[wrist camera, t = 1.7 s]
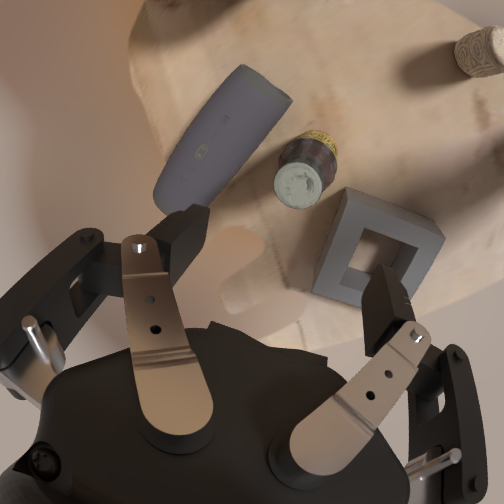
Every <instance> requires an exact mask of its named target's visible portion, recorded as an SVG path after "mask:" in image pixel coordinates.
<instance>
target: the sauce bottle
mask: <svg viewBox="0 0 504 504" xmlns="http://www.w3.org/2000/svg"><path fill="white" fill-rule="evenodd" d="M337 161H338V150H337V146H336V143H335V142H334V140H333V139H332V138H331V137H330V136H329V135H328V134H326V133H324V132H321V131H317V130H311V131H307V132H305V133H303V134H301V135H300V136H299V137H298V138H296V139H295V140H293V141H292V142H291V143H290V144H288V146H287V147H286V148H285V150H284V151H283V153H282V155H281V156H280V157H279V170H278V171H277V173H276V175H275V177H274V182H273V185H274V191H275V193H276V196H277V197H278V199H279V200H280V201H281V202H282V203H283V204H284V205H286V206H288V207H291V208H295V209H305V208H308V207H310V206H312V205H313V204H315V203H316V202H317V201H318V200H319V198H320V196H321V194H322V192H323V191H324V190H325V189H326V188H327V187H329V186H330V184H331V183H332V182H333V181H334V178H335V174H336V171H337Z"/></svg>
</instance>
